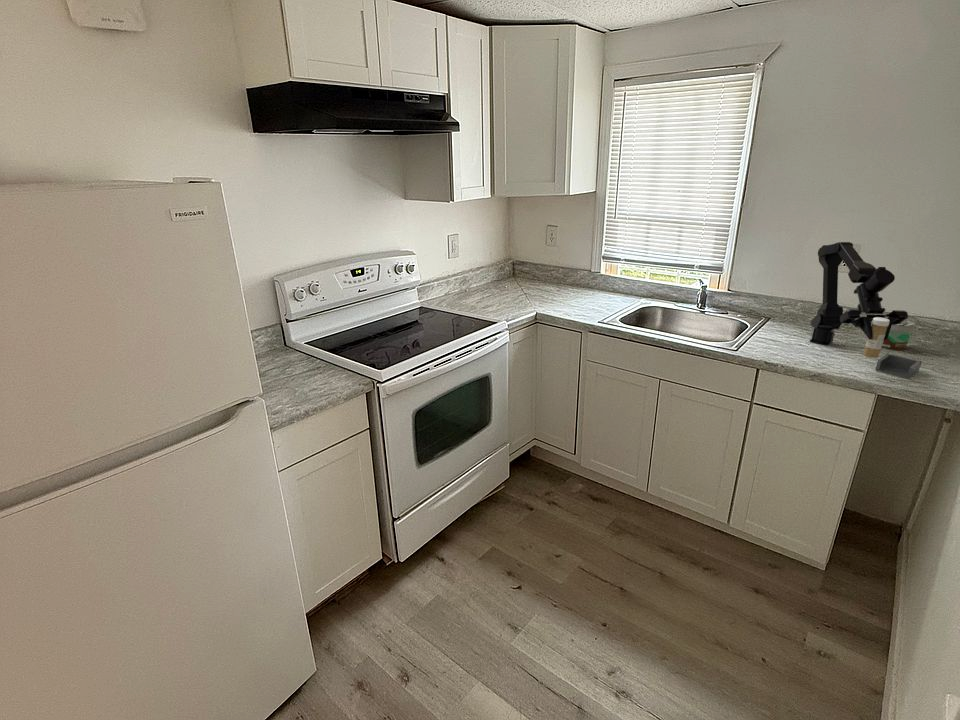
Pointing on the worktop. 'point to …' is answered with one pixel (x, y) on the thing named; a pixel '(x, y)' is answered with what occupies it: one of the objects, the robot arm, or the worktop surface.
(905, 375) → the dark grey shallow tray
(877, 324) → the sprinkles bottle
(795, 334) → the worktop surface
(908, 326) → the food container
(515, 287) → the worktop surface
